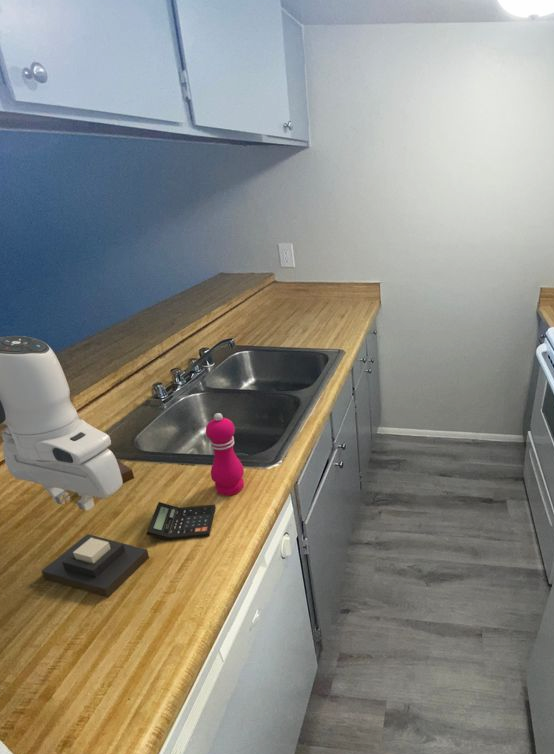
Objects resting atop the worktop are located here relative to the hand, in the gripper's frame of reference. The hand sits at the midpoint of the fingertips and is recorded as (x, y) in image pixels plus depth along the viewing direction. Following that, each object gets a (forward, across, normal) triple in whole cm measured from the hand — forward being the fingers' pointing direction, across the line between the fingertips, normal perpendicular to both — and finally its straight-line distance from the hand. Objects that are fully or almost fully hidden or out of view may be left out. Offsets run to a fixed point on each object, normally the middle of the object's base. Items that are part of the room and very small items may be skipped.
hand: (75, 505), depth 82 cm
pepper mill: (+15, +9, +29) cm, 34 cm away
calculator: (+15, +7, +15) cm, 23 cm away
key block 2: (+15, -23, +23) cm, 36 cm away
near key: (+12, 0, 0) cm, 12 cm away
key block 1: (+15, 0, 0) cm, 15 cm away
